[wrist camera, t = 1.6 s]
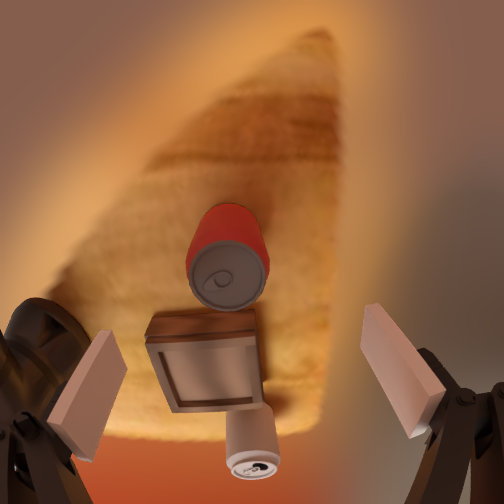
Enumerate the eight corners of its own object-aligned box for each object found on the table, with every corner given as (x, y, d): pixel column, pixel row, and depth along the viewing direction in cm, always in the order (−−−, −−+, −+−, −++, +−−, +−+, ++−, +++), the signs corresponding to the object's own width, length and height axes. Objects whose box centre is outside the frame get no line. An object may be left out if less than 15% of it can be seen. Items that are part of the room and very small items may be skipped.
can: (280, 413, 43) (291, 472, 31) (242, 428, 43) (245, 486, 32) (257, 390, 40) (265, 455, 29) (216, 406, 41) (215, 469, 30)
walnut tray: (175, 388, 39) (170, 414, 34) (151, 317, 35) (141, 341, 30) (262, 382, 40) (265, 408, 35) (254, 308, 35) (257, 333, 30)
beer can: (187, 220, 31) (163, 261, 20) (241, 191, 30) (246, 216, 19) (217, 270, 33) (211, 330, 22) (269, 243, 33) (288, 294, 21)
